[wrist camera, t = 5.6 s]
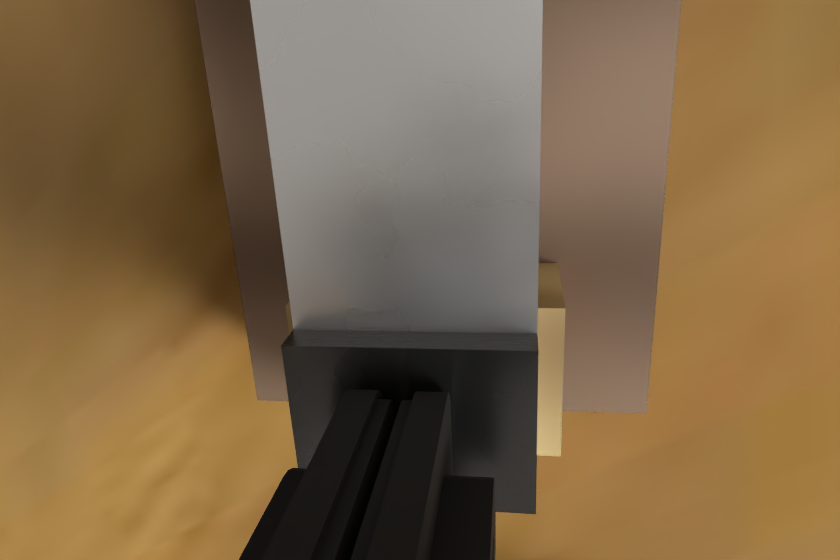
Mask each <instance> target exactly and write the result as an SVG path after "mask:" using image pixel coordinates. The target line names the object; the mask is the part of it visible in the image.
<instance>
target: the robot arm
mask: <svg viewBox="0 0 840 560" xmlns="http://www.w3.org/2000/svg"><path fill="white" fill-rule="evenodd" d="M239 560H495V478H492V477H471V476H453V453H452V426H451V401H450V394H449V392H420V391H416V392H415V393H414V396H413V399H412V400H402V401H401V404H400V407H399V410H398V413H397V416H396V419H395V409H394V403H393V400H388V399H383V397H382V393H381V391H380V390H349V389H348V390H346V391H345V392H344V394H343V396H342V398H341V400H340V402H339V404H338V406H337V408H336V410H335V412H334V414H333V416H332V418H331V420H330V422H329V424H328V426H327V428H326V430H325V432H324V434H323V436H322V438H321V440H320V442H319V444H318V446H317V448H316V451H315V453H314V455H313V457H312V459H311V461H310V463H309V465H308V467H307V469H302V468H292V469H290V470H288V471H287V473H286V474H285V475H284V477H283V479H282V480H281V482H280V484H279V486H278V488H277V490H276V492H275V493H274V495H273V497H272V499H271V501H270V503H269V505H268V506H267V508H266V510H265V512H264V514H263V516H262V518H261V519H260V521H259V523H258V525H257V527H256V529H255V531H254V532H253V534H252V536H251V538H250V540H249V542H248V544H247V546H246V547H245V549H244V551H243V553H242V555H241V557H240V559H239Z"/></svg>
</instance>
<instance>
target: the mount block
mask: <svg viewBox="0 0 840 560" xmlns="http://www.w3.org/2000/svg"><path fill="white" fill-rule="evenodd" d="M681 1H682V0H543V24H542V84H541V145H540V206H539V266H538V327H537V335H538V351H539V352H538V410H537V455H542V456H561V431H562V411H585V412H615V413H644V414H646V411H647V399H648V387H649V375H650V364H651V352H652V340H653V329H654V317H655V305H656V294H657V282H658V270H659V258H660V247H661V235H662V223H663V212H664V200H665V188H666V177H667V165H668V153H669V141H670V130H671V118H672V106H673V95H674V83H675V71H676V60H677V48H678V36H679V24H680V13H681ZM195 5H196V12H197V18H198V24H199V31H200V37H201V43H202V50H203V56H204V63H205V69H206V75H207V82H208V88H209V94H210V101H211V107H212V113H213V120H214V126H215V132H216V139H217V145H218V151H219V158H220V164H221V171H222V177H223V183H224V190H225V196H226V202H227V209H228V215H229V221H230V228H231V234H232V240H233V247H234V253H235V260H236V266H237V272H238V279H239V285H240V291H241V298H242V304H243V310H244V317H245V323H246V329H247V336H248V342H249V348H250V355H251V361H252V368H253V374H254V380H255V387H256V393H257V399H258V400H266V401H289V400H288V393H287V385H286V378H285V371H284V364H283V357H282V350H281V345H282V344H283V342H284V341H285V340H286V338H287V337H288V336H289V335H290V333H291V332H292V331H293V323H292V316H291V308H290V300H289V293H288V285H287V278H286V270H285V263H284V255H283V247H282V240H281V232H280V225H279V217H278V210H277V202H276V194H275V187H274V179H273V172H272V164H271V157H270V149H269V141H268V134H267V126H266V119H265V111H264V104H263V96H262V88H261V81H260V73H259V66H258V58H257V51H256V43H255V35H254V28H253V20H252V13H251V5H250V0H195Z"/></svg>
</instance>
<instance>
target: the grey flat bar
mask: <svg viewBox="0 0 840 560" xmlns="http://www.w3.org/2000/svg"><path fill="white" fill-rule="evenodd" d="M250 5H251V13H252V20H253V28H254V35H255V43H256V51H257V58H258V66H259V73H260V81H261V88H262V96H263V104H264V111H265V119H266V126H267V134H268V141H269V149H270V157H271V164H272V172H273V179H274V187H275V194H276V202H277V210H278V217H279V225H280V232H281V240H282V247H283V255H284V263H285V270H286V278H287V285H288V293H289V300H290V308H291V316H292V323H293V331H292V332H291V333H290V335H289V336H288V337H287V338H286V340H285V341H284V342H283V344H282V345H281V350H282V357H283V364H284V371H285V378H286V385H287V393H288V400H289V407H290V414H291V421H292V428H293V435H294V442H295V449H296V456H297V463H298V468H302V469H307V467H308V465H309V463H310V461H311V459H312V457H313V455H314V453H315V451H316V448H317V446H318V444H319V442H320V440H321V438H322V436H323V434H324V432H325V430H326V428H327V426H328V424H329V422H330V420H331V418H332V416H333V414H334V412H335V410H336V408H337V406H338V404H339V402H340V400H341V398H342V396H343V394H344V392H345V391H346V390H348V389H349V390H380V391H381V393H382V397H383V399H388V400H393V403H394V409H395V419H396V416H397V413H398V410H399V407H400V404H401V401H402V400H412V399H413V396H414V393H415V392H416V391H420V392H449V394H450V401H451V426H452V453H453V476H471V477H492V478H495V512H509V513H526V514H536V467H537V410H538V352H539V351H538V335H537V327H538V266H539V206H540V145H541V84H542V24H543V0H250Z"/></svg>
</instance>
